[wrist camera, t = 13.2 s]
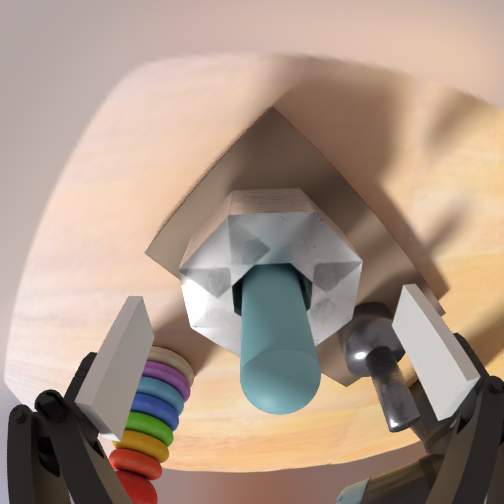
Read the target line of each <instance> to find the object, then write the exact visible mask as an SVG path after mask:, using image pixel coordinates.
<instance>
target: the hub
mask: <svg viewBox="0 0 504 504" xmlns="http://www.w3.org/2000/svg"><path fill="white" fill-rule="evenodd" d="M297 271H298V269H297V268H295V267H294V266H293V265H292V264H291V263H277V264H255V265H254V266H253V267H252V268H250V269H249V270H248V271H247V272H246V273H245V274H244V275H243V276H242V277H243V288H242V323H241V361H240V382H241V386H242V390H243V392H244V394H245V396H246V397H247V399H248V400H249V401H250V402H251V403H252V404H253V405H254V406H255V407H257V408H258V409H260V410H262V411H264V412H267V413H270V414H277V415H282V414H289V413H293V412H295V411H298V410H300V409H301V408H303V407H304V406H306V405H307V404H308V403H309V402H310V401H311V400H312V399H313V397H314V396H315V394H316V392H317V390H318V388H319V385H320V379H321V371H320V365H319V361H318V357H317V353H316V348H315V344H314V340H313V336H312V332H311V328H310V324H309V320H308V316H307V312H306V308H305V304H304V300H303V296H302V292H301V289H300V285H299V281H298V277H297V274H296V272H297Z"/></svg>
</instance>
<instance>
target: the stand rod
mask: <svg viewBox="0 0 504 504" xmlns="http://www.w3.org/2000/svg"><path fill="white" fill-rule="evenodd" d="M393 320H394V315H393V314H392V312H391V310H390V309H389V307H388V306H387V305H385V304H383V303H381V302H366V303H363V304H360V305H358V306H356V307H354V312H353V316H352V320H350V321H349V322H348V323H346V324H345V325H344V326H343V327H341V328H340V329H339V330H337V337H338V340H339V343H340V346H341V349H342V352H343V355H344V358H345V361H346V365H347V368H348V370H349V371H350V373H352V374H353V375H356V376H360V377H369V376H371V378H372V381H373V384H374V386H375V389H376V392H377V395H378V398H379V400H380V403H381V406H382V409H383V412H384V415H385V418H386V421H387V424H388V427H389V430H390V432H399V431H402V430H405V429H407V428H409V427H411V426H412V425H414V424H415V423H416V422H417V421H418V420H419V419H420V414H419V411H418V409H417V407H416V404H415V402H414V399H413V397H412V395H411V392H410V390H409V388H408V386H407V383H406V381H405V379H404V377H403V374H402V372H401V370H400V368H399V366H398V362H399V361H400V360H401V358H402V357H403V356H404V354H405V350H404V348H403V346H402V344H401V342H400V340H399V338H398V337H397V335H396V333H395V331H394V329H393V327H392V323H393Z"/></svg>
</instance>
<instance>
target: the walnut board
mask: <svg viewBox="0 0 504 504" xmlns="http://www.w3.org/2000/svg"><path fill="white" fill-rule="evenodd" d="M283 188H300V189H301V190H302V191H303V192H304V193H305V194H306V195H307V196H308V197H309V198H310V199H311V200H312V201H313V202H314V203H315V204H316V205H317V206H318V207H319V208H320V209H321V210H322V211H323V212H324V213H325V214H326V215H327V216H328V217H329V218H330V219H331V220H332V221H333V222H334V223H335V224H336V225H337V226H338V227H339V228H340V229H341V230H342V232H343V233H344V234H345V236H346V237H347V239H348V240H349V242H350V243H351V245H352V246H353V247H354V249H355V250H356V252H357V253H358V255H359V256H360V258H361V259H362V261H363V263H362V269H361V275H360V280H359V286H358V291H357V297H356V302H355V307H356V306H358V305H360V304H363V303H366V302H381V303H383V304H385V305H387V306H388V307H389V309H390V310H391V312H392V314H393V315H394V317H395V313H396V310H397V307H398V303H399V299H400V296H401V292H402V288H403V285H407V284H416V285H417V286H418V288H419V289H420V290H421V292H422V293H423V294H424V295H425V297H426V298H427V299H428V301H429V302H430V303H431V305H432V306H433V307H434V309H435V310H436V311H437V313H438V314H439V315H440V317H442V316H443V315H444V314H445V311H444V310H443V308H442V306H441V305H440V303H439V302H438V300H437V299H436V297H435V295H434V294H433V292H432V291H431V289H430V288H429V286H428V285H427V283H426V282H425V280H424V279H423V277H422V276H421V275H420V273H419V272H418V270H417V269H416V267H415V266H414V265H413V263H412V262H411V260H410V259H409V258H408V256H407V255H406V254H405V252H404V251H403V249H402V248H401V247H400V245H399V244H398V243H397V242H396V240H395V239H394V238H393V236H392V235H391V234H390V232H389V231H388V230H387V229H386V227H385V226H384V225H383V224H382V222H381V221H380V220H379V219H378V217H377V216H376V215H375V214H374V212H373V211H372V210H371V209H370V208H369V206H368V205H367V204H366V203H365V202H364V201H363V199H362V198H361V197H360V196H359V195H358V194H357V192H356V191H355V190H354V189H353V188H352V187H351V186H350V184H349V183H348V182H347V181H346V180H345V179H344V178H343V177H342V176H341V174H340V173H339V172H338V171H337V170H336V169H335V168H334V167H333V166H332V165H331V164H330V163H329V162H328V160H327V159H326V158H325V157H324V156H323V155H322V154H321V153H320V152H319V151H318V150H317V149H316V148H315V147H314V146H313V145H312V144H311V143H310V142H309V141H308V140H307V139H306V138H305V137H304V136H303V135H302V134H301V133H300V132H299V131H298V130H297V129H296V128H295V127H294V126H293V125H291V124H290V123H289V122H288V121H287V120H286V119H285V118H284V117H283V116H282V115H281V114H280V113H279V112H277V111H276V110H275V109H274V108H273V107H270V108H269V109H268V110H267V111H266V112H265V113H264V114H263V115H262V116H261V117H260V118H259V119H258V120H257V121H256V122H255V123H254V124H253V125H252V126H251V127H250V128H249V129H248V130H247V131H246V132H245V133H244V134H243V135H242V136H241V137H240V138H239V140H238V141H237V142H236V143H235V144H234V145H233V146H232V147H231V148H230V149H229V150H228V151H227V153H226V154H225V155H224V156H223V157H222V158H221V159H220V160H219V161H218V163H217V164H216V165H215V166H214V167H213V168H212V169H211V170H210V172H209V173H208V174H207V175H206V176H205V177H204V178H203V180H202V181H201V182H200V183H199V184H198V185H197V187H196V188H195V189H194V190H193V191H192V193H191V194H190V195H189V196H188V197H187V198H186V200H185V201H184V202H183V203H182V205H181V206H180V207H179V208H178V209H177V211H176V212H175V213H174V214H173V216H172V217H171V218H170V219H169V221H168V222H167V223H166V224H165V226H164V227H163V228H162V229H161V231H160V232H159V233H158V235H157V236H156V237H155V239H154V240H153V241H152V243H151V244H150V246H149V247H148V249H147V250H146V252H145V254H146V255H148V256H149V257H150V258H151V259H153V260H154V261H155V262H157V263H158V264H159V265H161V266H162V267H163V268H165V269H166V270H167V271H169V272H170V273H172V274H173V275H174V276H176V277H177V278H178V279H180V275H179V271H178V269H179V266H180V264H181V261H182V259H183V257H184V254H185V252H186V249H187V247H188V244H189V242H190V240H191V237H192V235H193V234H194V233H195V232H196V231H197V230H198V229H199V228H200V226H201V225H202V224H203V223H204V222H205V221H206V220H207V219H208V217H209V216H210V215H211V214H212V213H213V212H214V211H215V210H216V209H217V207H218V206H219V205H220V204H221V203H222V202H223V201H224V200H225V199H226V198H227V197H228V195H229V194H230V193H231V192H232V191H233V190H253V189H283ZM315 348H316V353H317V357H318V361H319V365H320V371H321V373H323V374H325V375H326V376H328V377H330V378H331V379H333V380H335V381H337V382H338V383H340V384H342V385H344V386H345V387H347V386H349V385H351V384H352V383H354V382H355V381H357V380H358V379H360V378H361V377H360V376H356V375H353V374H352V373H350V371H349V370H348V368H347V365H346V361H345V358H344V355H343V352H342V349H341V346H340V343H339V340H338V337H337V331H336V332H335V333H333V334H332V335H331V336H329V337H328V338H326V339H325V340H324V341H322V342H321V343H320V344H318V345H317V346H315Z"/></svg>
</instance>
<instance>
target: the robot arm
mask: <svg viewBox="0 0 504 504" xmlns="http://www.w3.org/2000/svg"><path fill="white" fill-rule="evenodd" d="M392 327H393V329H394V331H395V333H396V335H397V337H398V338H399V340H400V342H401V344H402V346H403V348H404V350H405V352H406V354H407V356H408V358H409V359H410V361H411V363H412V365H413V367H414V369H415V371H416V373H417V376H418V378H419V381H418V382H417V383H416V384H414V385H413V386H412V387H411V388H410V389H409V390H410V392H411V395H412V397H413V399H414V402H415V404H416V407H417V409H418V411H419V414H420V419H419V420H418V421H417V422H416V423H415V424H414V425H412V426H411V427H410V428H411V429H412V431H413V432H414V433H415V434H416V435H417V436H418V437H419V438H420V439H421V441H422V442H423V444H424V446H425V449H426V452H427V455H426V456H424V457H422V458H420V459H418V460H416V461H413V462H411V463H409V464H407V465H404V466H402V467H399V468H397V469H394V470H392V471H389V472H386V473H384V474H381V475H378V476H375V477H373V478H367V479H366V480H364V481H362V482H359V483H356V484H353V485H350V486H348V487H346V488H344V489H343V490H342V491H341V493H340V494H339V496H338V498H337V501H336V504H484V502H485V501H486V504H504V382H503V381H502V380H501V379H500V378H499V377H497V376H490V375H489V374H488V373H487V371H486V369H485V368H484V366H483V365H482V363H481V362H480V360H479V359H478V357H477V356H476V354H474V351H473V350H472V348H470V345H469V344H468V342H467V341H466V340H465V338H463V337H462V336H461V335H460V334H458V333H452V332H451V331H450V329H449V328H448V326H447V325H446V324H445V322H444V321H443V319H442V318H441V317H440V315H439V314H438V313H437V311H436V310H435V309H434V307H433V306H432V305H431V303H430V302H429V301H428V299H427V298H426V297H425V295H424V294H423V293H422V292H421V290H420V289H419V288H418V286H417V285H416V284H407V285H403V288H402V292H401V296H400V299H399V303H398V307H397V310H396V313H395V317H394V320H393V323H392ZM154 338H155V336H154V333H153V330H152V327H151V324H150V321H149V317H148V314H147V311H146V308H145V304H144V301H143V297H142V296H129V297H128V298H127V300H126V302H125V304H124V305H123V307H122V309H121V311H120V312H119V314H118V316H117V318H116V320H115V321H114V323H113V325H112V327H111V329H110V331H109V333H108V334H107V336H106V338H105V340H104V342H103V344H102V346H101V348H100V350H99V352H98V353H94V352H90V353H89V354H88V355H87V356H86V357H85V358H84V359H83V360H82V362H81V364H80V366H79V368H78V370H77V371H76V373H75V377H73V379H72V381H71V383H70V385H69V387H68V389H67V391H66V393H65V396H64V398H63V397H62V396H61V395H60V393H59V392H57V391H56V390H51V389H50V390H45V391H43V392H42V393H40V394H39V396H38V397H37V398H36V400H35V409H36V410H37V411H38V412H33V411H32V410H31V409H30V408H29V407H28V406H26V405H23V404H21V405H17V406H16V407H15V408H13V409H12V411H11V412H10V416H9V423H8V440H7V473H8V474H7V475H8V492H9V503H10V504H71V501H70V496H69V492H70V494H71V496H72V499H73V501H74V503H75V504H133V502H132V500H131V499H130V497H129V496H128V494H127V492H126V491H125V489H124V487H123V486H122V484H121V482H120V480H119V479H118V477H117V475H116V473H115V471H114V469H113V468H112V466H111V464H110V462H109V460H108V458H107V456H106V454H105V452H104V450H103V448H102V446H101V443H100V441H99V440H98V439H97V437H98V434H99V432H100V433H101V434H102V436H103V437H104V438H106V439H110V440H114V441H119V442H121V439H122V435H123V432H124V429H125V425H126V422H127V419H128V416H129V412H130V409H131V406H132V403H133V400H134V397H135V393H136V390H137V387H138V384H139V381H140V378H141V375H142V372H143V370H144V367H145V364H146V361H147V358H148V355H149V352H150V350H151V347H152V344H153V341H154ZM68 489H69V491H68Z"/></svg>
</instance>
